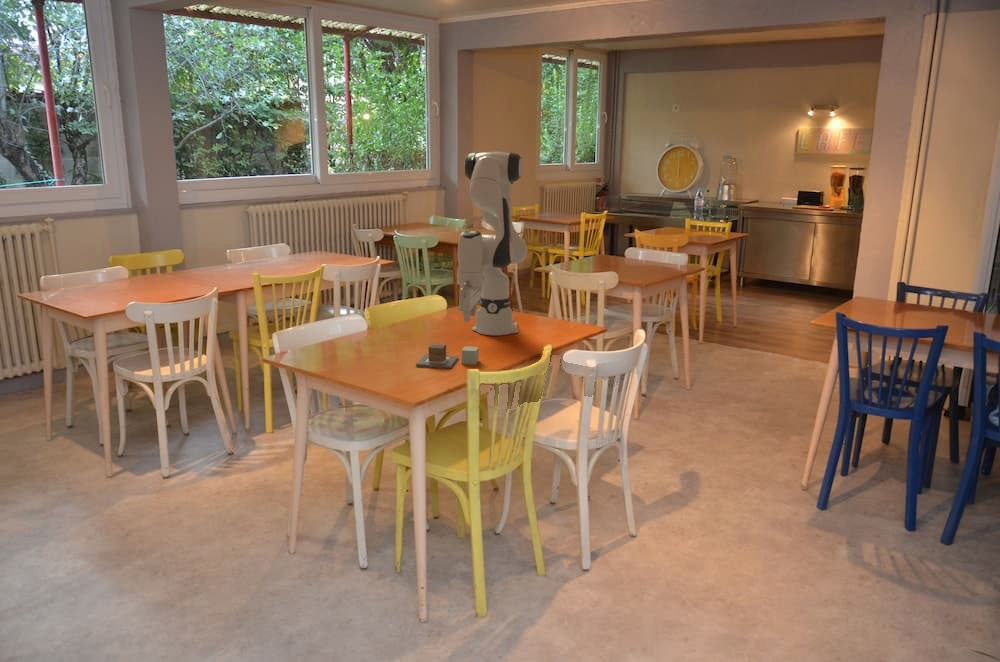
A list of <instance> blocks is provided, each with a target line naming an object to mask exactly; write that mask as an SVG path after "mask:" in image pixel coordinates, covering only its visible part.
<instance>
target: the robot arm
mask: <svg viewBox="0 0 1000 662" xmlns="http://www.w3.org/2000/svg"><path fill="white" fill-rule="evenodd" d="M463 170H464V174H465V177H466V178H467V179H468V180H470V183H469V199H470V201H471V203H472V204H473V205H474V207H476V208H477V209H480V210H481V211H482V214H481V215H482V219H483V221H484V223H486V224H487V225H488V226H490V227H491V228H492V229H493V230H494V234H489V233H487V234H486V233H481V231H478V230H476V229H475V230H474V229H473V230H471V229H470V230H469V229H468V230H465V231H462V232H460V233H459V236H458V242H457V254H456V255H457V256H456V257H457V263H458V266H457V271H456V272H457V276H456V277H457V278H456V279H457V281H456V283H457V285H459V286H460V289H459V296H458V300H459V301H458V309H459V312H462V314H463V320H464V323H469V322H470V321H471V317H475V325H474V326H472V328H471V331H473V332H477V333H479V334H481V335H485V336H486V335H487V336H506V335H510V334H516V333H519V331H518V330H519V329H518V324H517V321H515V320H514V312H513V310H512V308H511V307H510V306H511V297H510V279H509V276H508V275H507V274H505V272H503V271H501V270H500V269H505V268H506V267H508V266H509V265H513V264H520V263H523V262H524V260H525V259H526V258H527V254H528V245H527V242H526V240H525V239H524V238H522V237H521V236H520V234H518V232H517V231H516V228H515V227H514V224H513V221H512V188H511V187H512V185H513V184H514V182H517V181H518V180H520V178H521V176H522V173H523V170H524V165H523V161H522V157H521V156H520V154H518V153H515V152H506V151H505V152H503V151H486V152H485V151H484V152H477V151H476V152H471V153H469V154H467V155H466V156H465V160H464V163H463ZM478 303H479V306H480V307H479V308H478V309H477V305H478Z"/></svg>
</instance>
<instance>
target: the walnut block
mask: <svg viewBox="0 0 1000 662" xmlns="http://www.w3.org/2000/svg"><path fill="white" fill-rule="evenodd" d="M428 354H429V361H434V362H443V361H444V360H445V359H446V355H447V344H446V343H431V344H430V345H429V346H428Z"/></svg>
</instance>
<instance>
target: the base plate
mask: <svg viewBox="0 0 1000 662" xmlns="http://www.w3.org/2000/svg"><path fill="white" fill-rule="evenodd" d="M457 359H458V360H459V356H458V355H447V354H446V359H445V360H444V361H443V362H434V361H429V353H427V354H424V355H422V357H421V358H420V359H419V360H418V361H417V362H416V364H415V367H416V368H430V367H439V368H438V369H446V368H451V369H452V367H454V365H455V363H456V362H457V361H458V360H457Z"/></svg>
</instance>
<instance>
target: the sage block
mask: <svg viewBox="0 0 1000 662" xmlns="http://www.w3.org/2000/svg"><path fill="white" fill-rule="evenodd" d="M479 352H480V350H479V347H478V346H464V347H463V348H462V349H461V364H462V363H463V364H462V365H472V364H476V363H477V364H478V362H479V361H478V360H479V356H480V355H479ZM477 364H476V365H477Z"/></svg>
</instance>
